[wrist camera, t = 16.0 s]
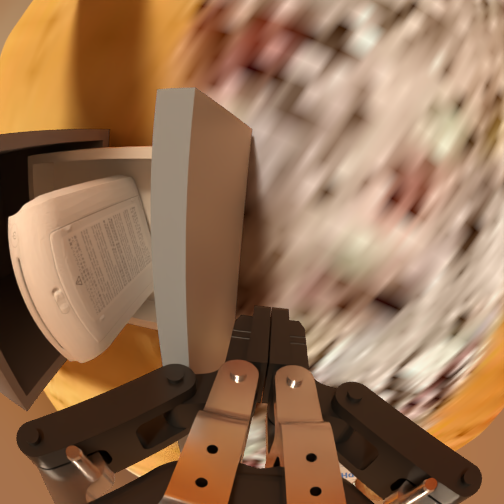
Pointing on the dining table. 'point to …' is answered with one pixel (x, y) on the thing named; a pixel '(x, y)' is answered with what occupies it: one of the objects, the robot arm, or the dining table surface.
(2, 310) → the cabinet
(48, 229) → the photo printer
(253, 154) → the dining table surface
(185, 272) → the drawer tray
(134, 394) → the robot arm
